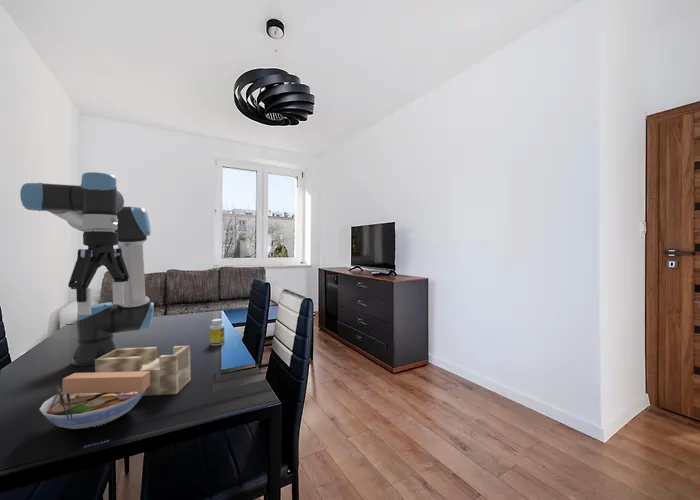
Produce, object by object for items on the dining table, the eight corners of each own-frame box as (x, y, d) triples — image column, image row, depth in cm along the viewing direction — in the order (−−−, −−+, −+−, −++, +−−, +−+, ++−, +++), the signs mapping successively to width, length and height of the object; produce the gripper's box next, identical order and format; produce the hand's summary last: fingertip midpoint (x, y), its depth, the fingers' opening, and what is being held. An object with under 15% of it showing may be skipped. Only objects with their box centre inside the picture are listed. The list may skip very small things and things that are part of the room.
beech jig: (95, 398, 99) (94, 359, 99) (118, 383, 110) (117, 348, 110) (176, 393, 101) (175, 356, 101) (190, 379, 112) (189, 345, 112)
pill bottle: (219, 346, 150) (218, 321, 150) (207, 345, 151) (206, 321, 151) (227, 342, 156) (226, 318, 156) (215, 341, 157) (215, 318, 157)
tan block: (62, 393, 84) (62, 378, 84) (74, 387, 88) (74, 373, 88) (141, 391, 86) (142, 376, 86) (150, 385, 90) (150, 371, 90)
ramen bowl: (159, 422, 85) (158, 391, 85) (39, 463, 69) (38, 425, 69) (139, 392, 103) (138, 366, 103) (40, 419, 87) (39, 389, 87)
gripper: (81, 229, 75) (84, 319, 75) (141, 232, 99) (142, 300, 100) (46, 229, 74) (49, 320, 74) (115, 232, 99) (117, 301, 99)
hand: (103, 309), depth 87 cm, fingers open, 13 cm apart
